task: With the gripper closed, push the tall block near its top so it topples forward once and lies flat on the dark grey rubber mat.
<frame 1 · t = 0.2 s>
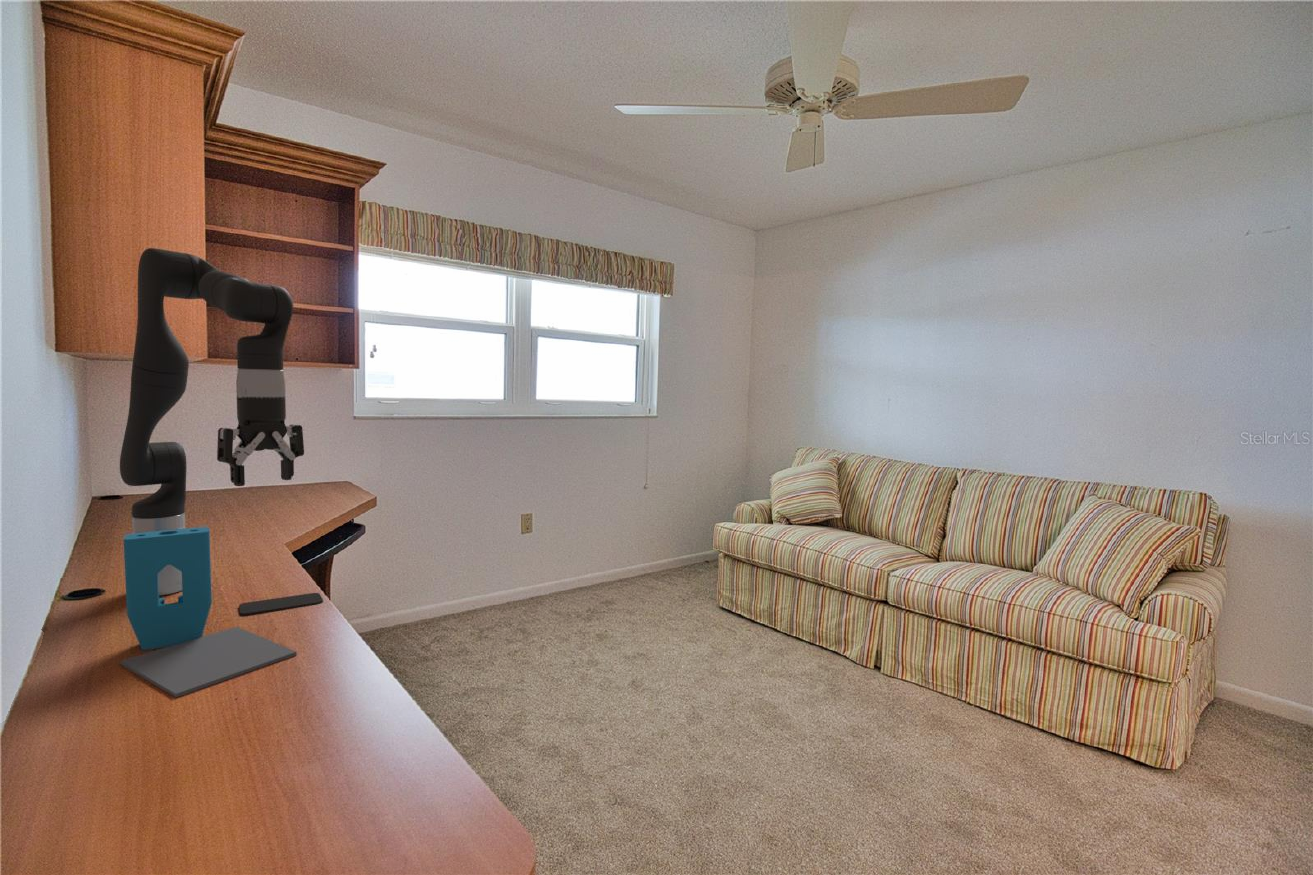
hand: (263, 482, 115), 29 cm above the table, tool pointing down, fingers open, 8 cm apart
block: (172, 641, 114), on the table
phone: (281, 607, 133), on the table
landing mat: (210, 659, 107), on the table
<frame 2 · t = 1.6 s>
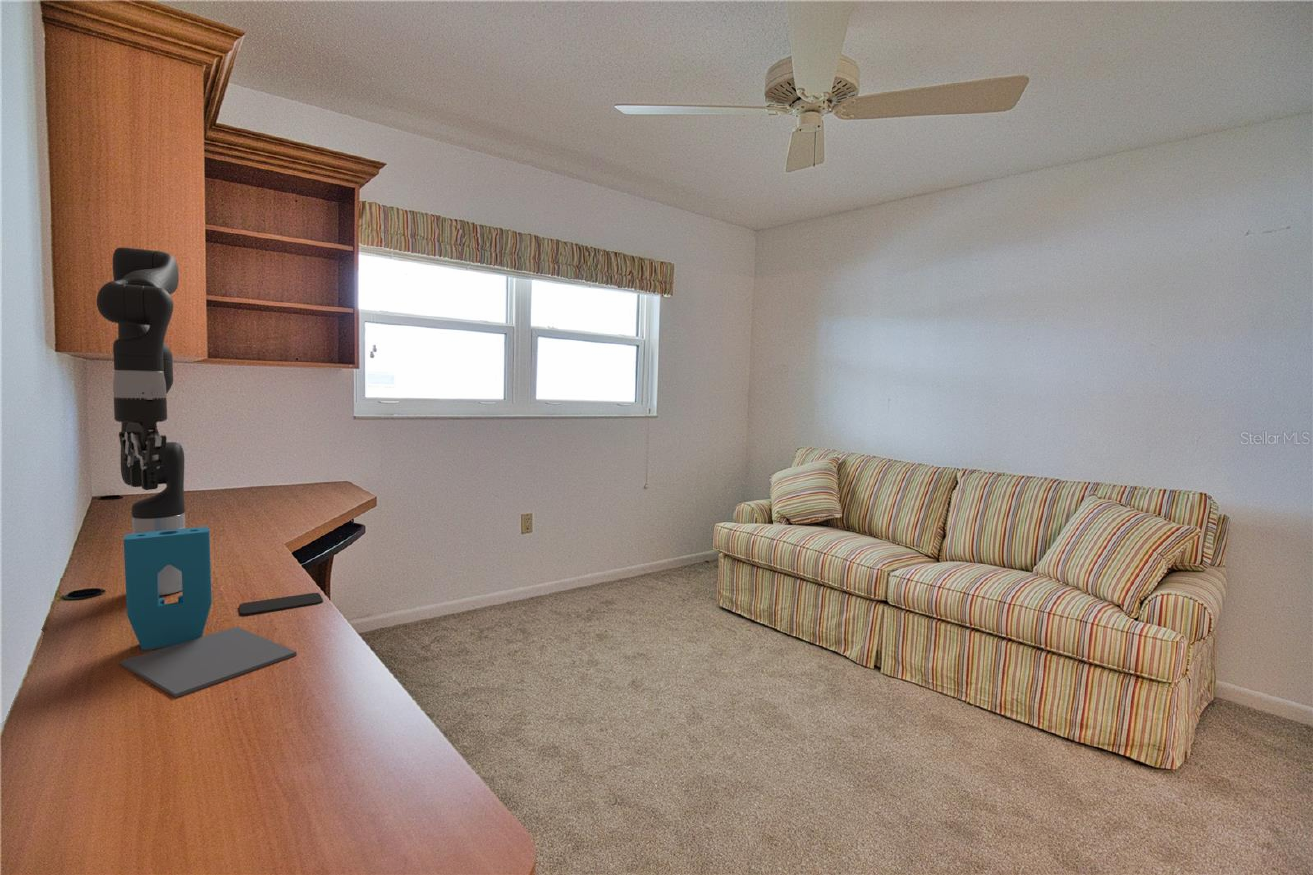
hand: (144, 487, 116), 27 cm above the table, tool pointing down, fingers open, 4 cm apart
nothing on the table moved.
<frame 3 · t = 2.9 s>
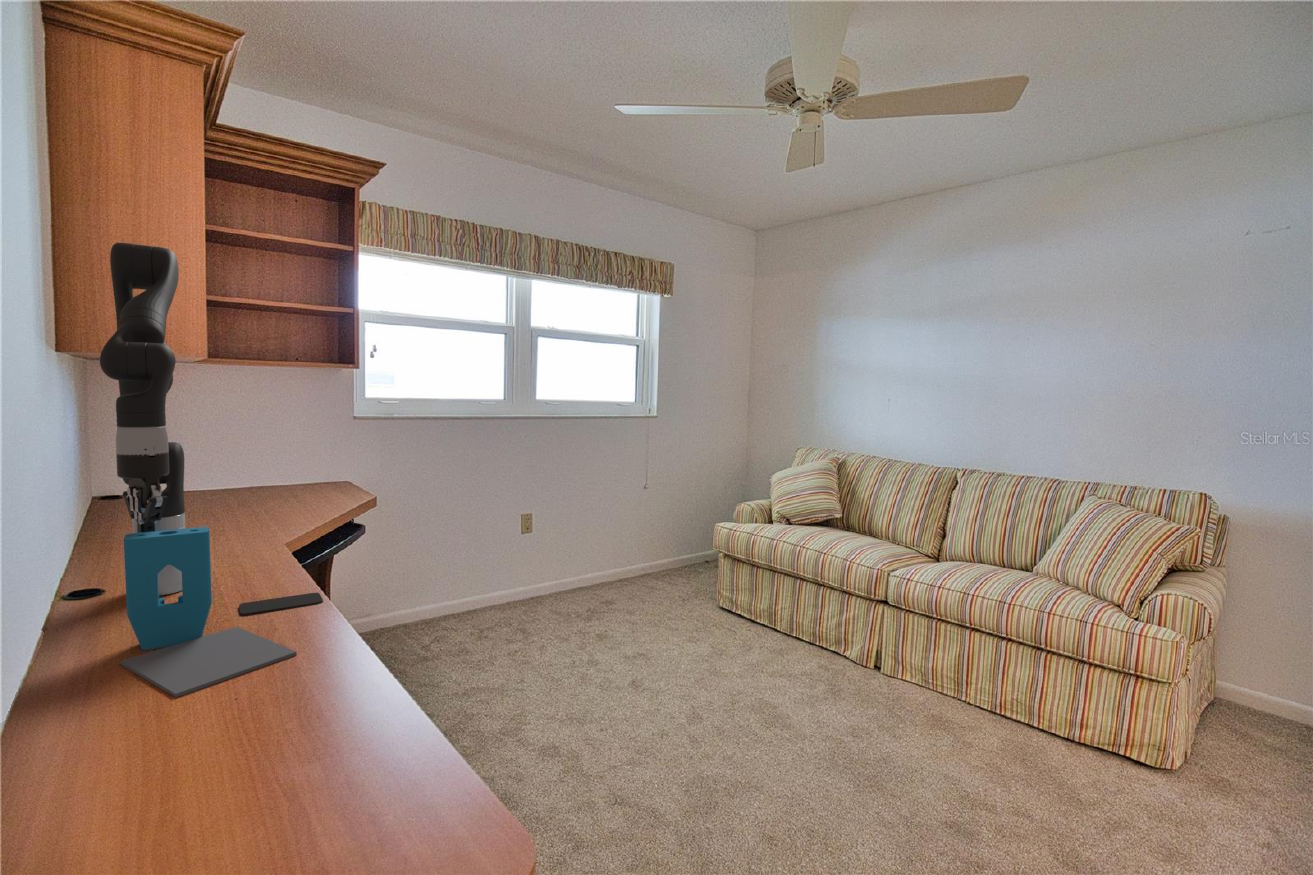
hand: (146, 542, 117), 17 cm above the table, tool pointing down, fingers closed
nothing on the table moved.
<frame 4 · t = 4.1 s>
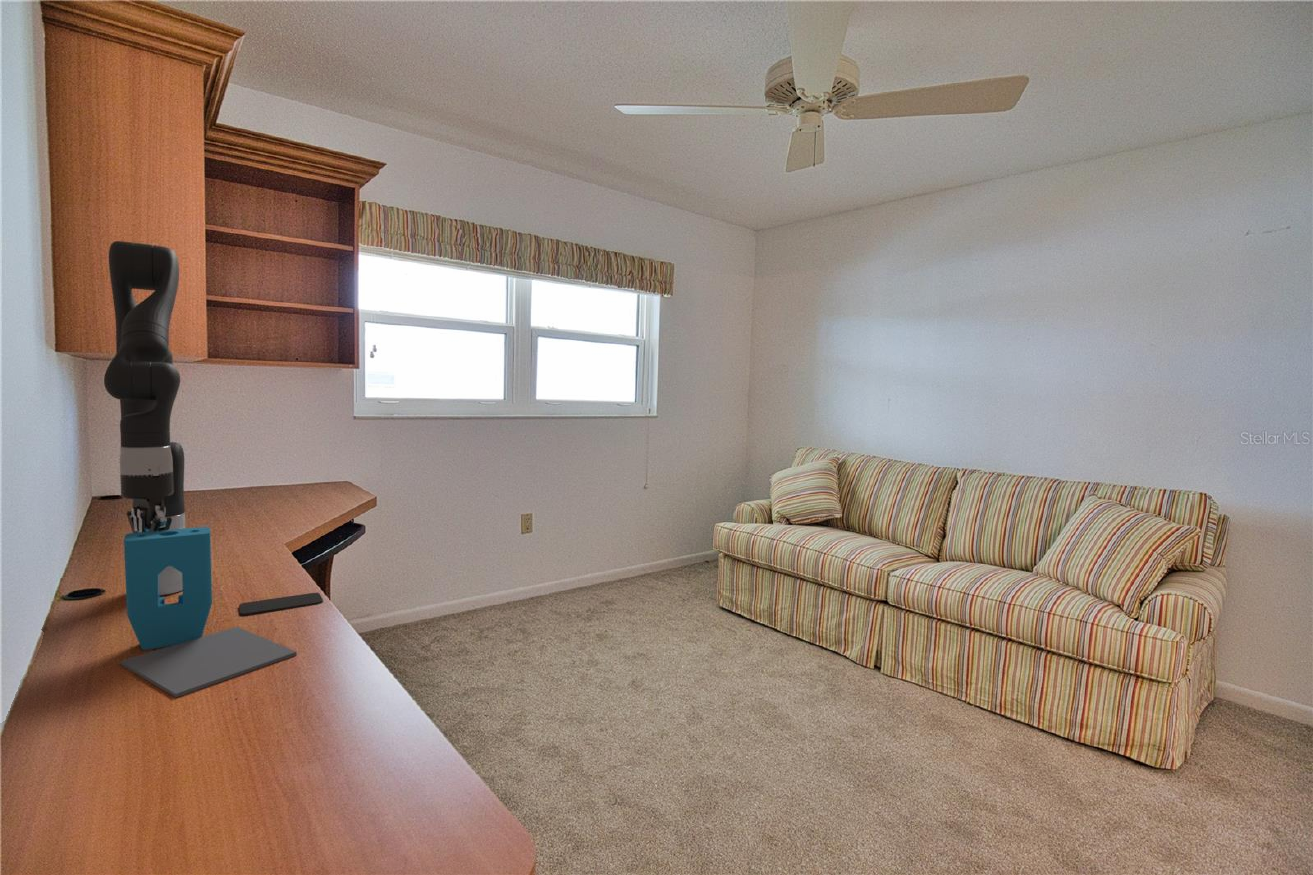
hand: (150, 563, 116), 13 cm above the table, tool pointing down, fingers closed
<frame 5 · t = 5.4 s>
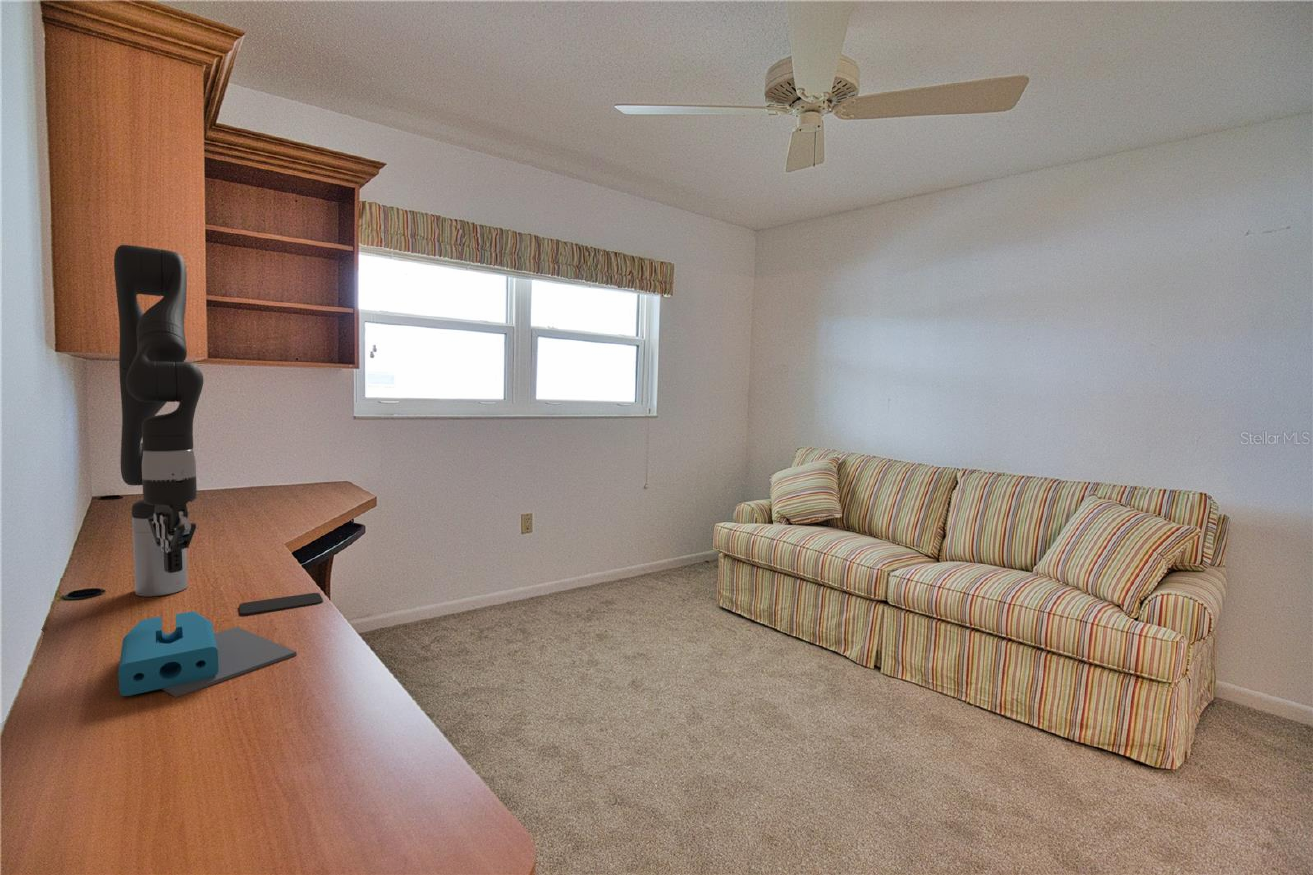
hand: (173, 571, 111), 13 cm above the table, tool pointing down, fingers closed
block: (169, 628, 111), point 3 cm above the table, touching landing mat
everything else where it was.
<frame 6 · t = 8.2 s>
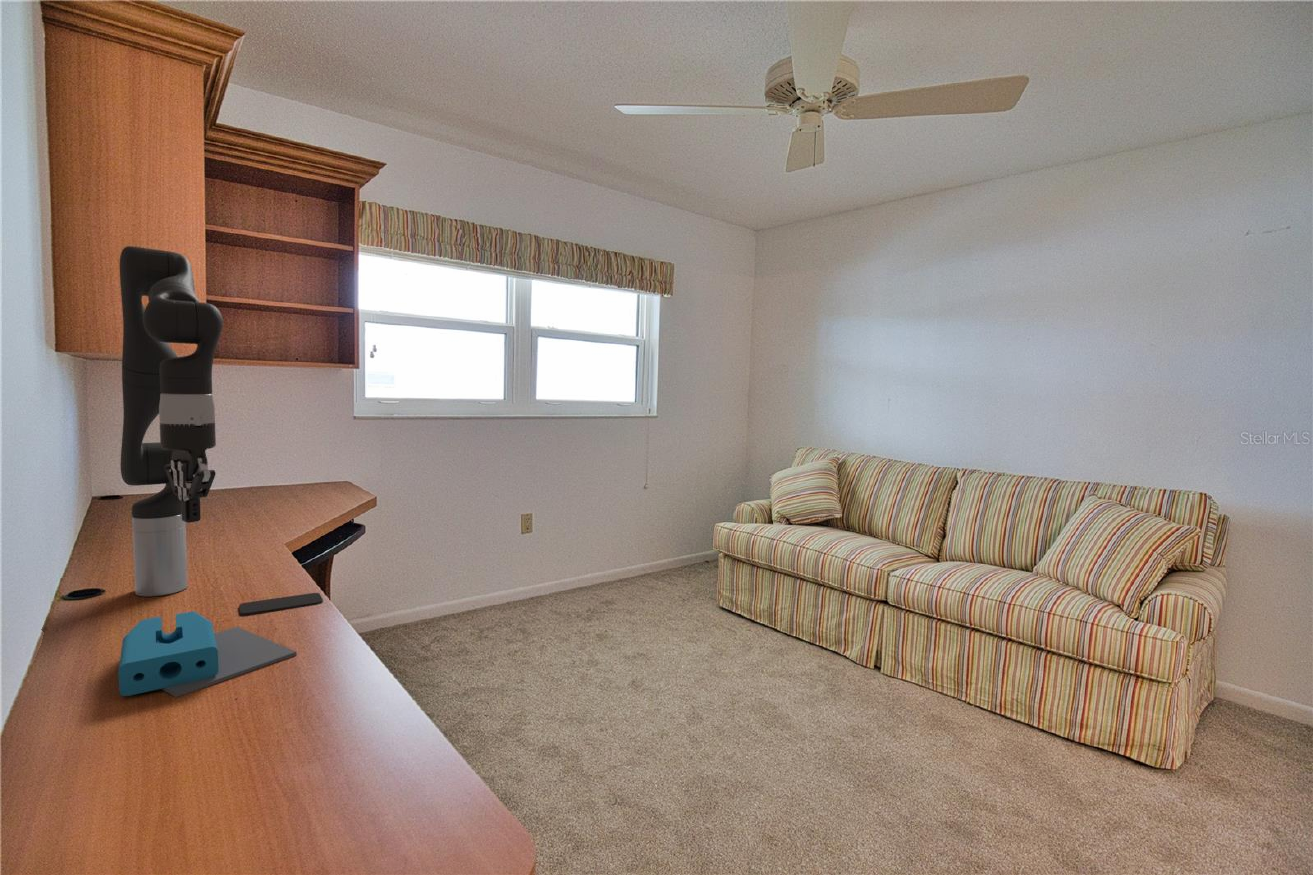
hand: (191, 521, 107), 23 cm above the table, tool pointing down, fingers closed
nothing on the table moved.
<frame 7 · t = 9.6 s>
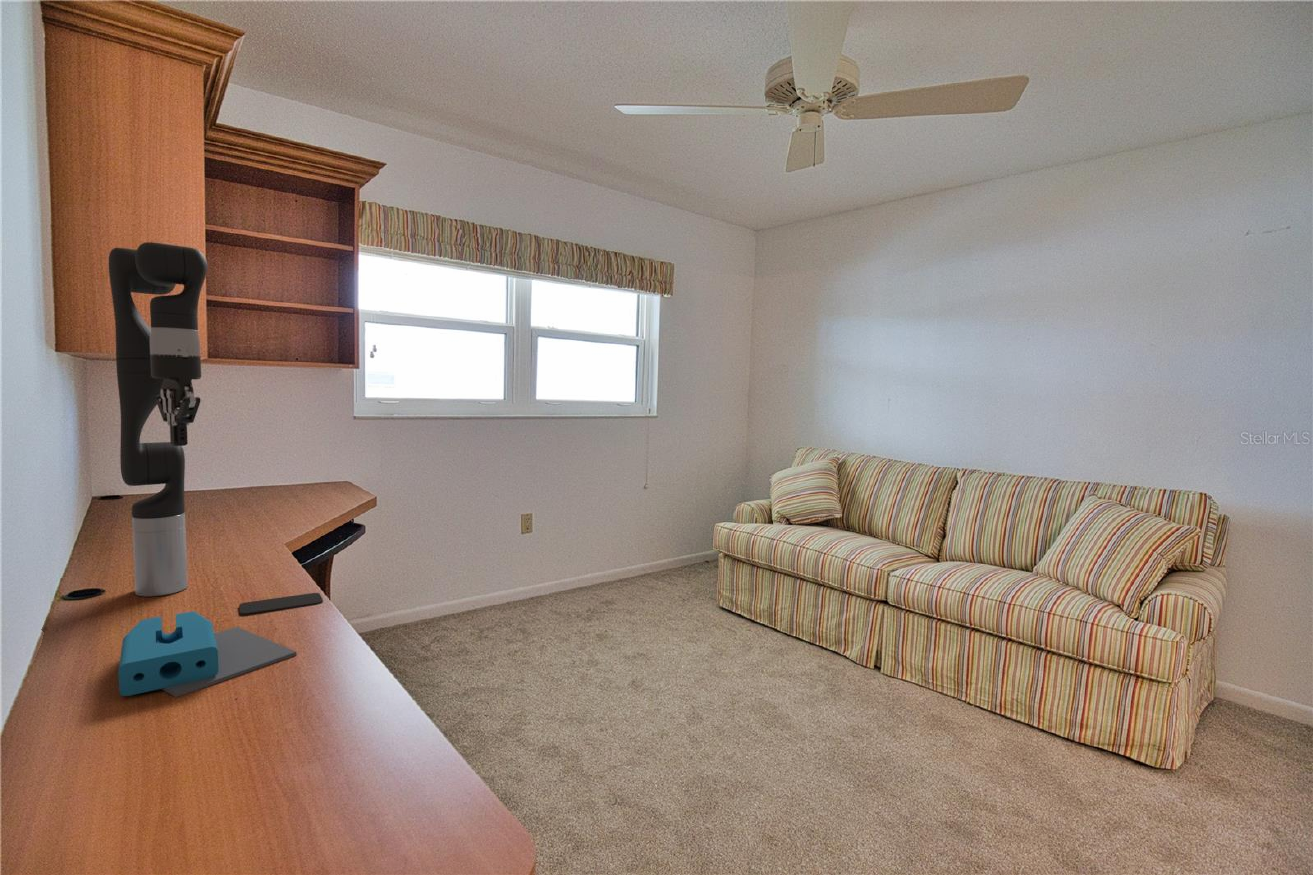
hand: (179, 445, 119), 35 cm above the table, tool pointing down, fingers closed
nothing on the table moved.
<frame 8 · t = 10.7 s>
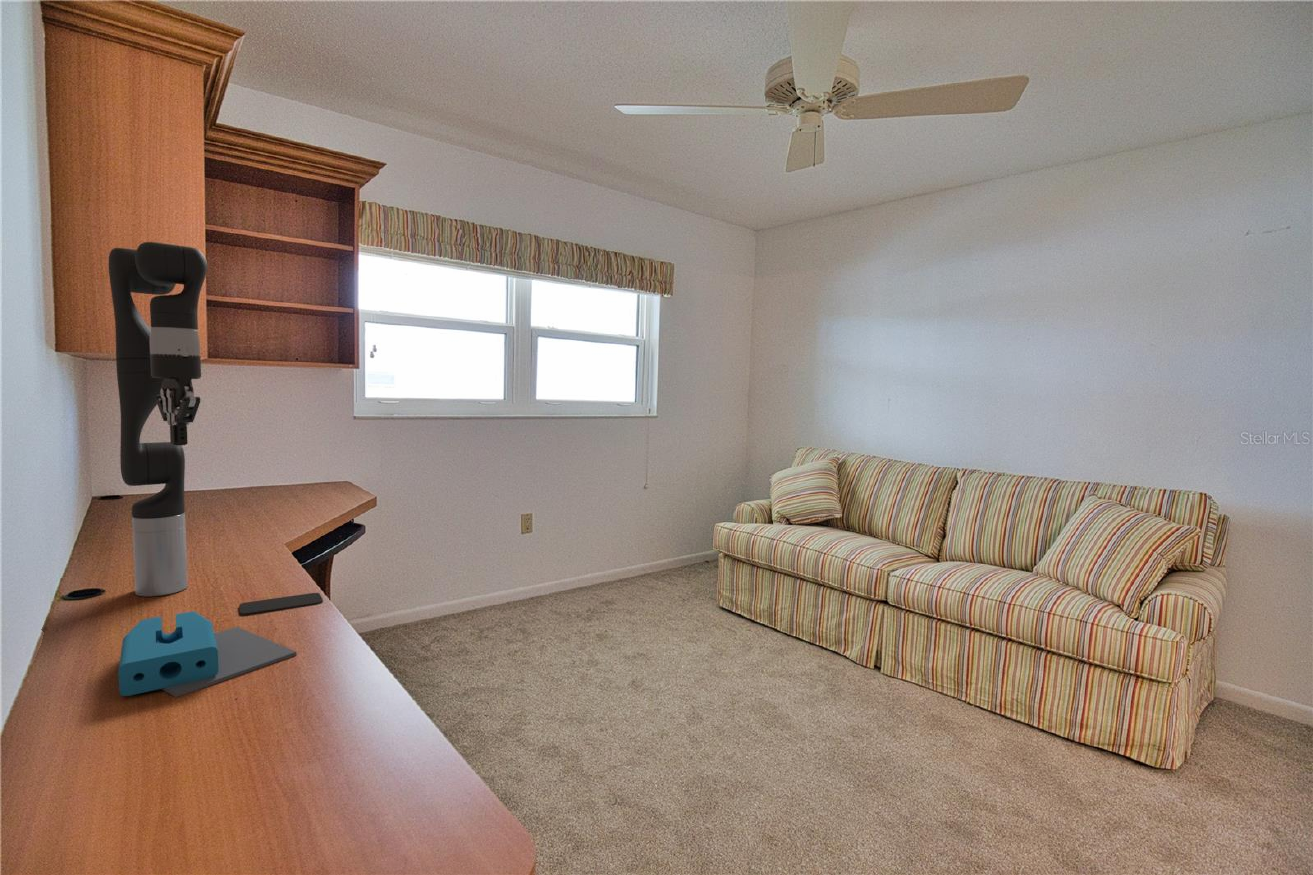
hand: (179, 444, 119), 35 cm above the table, tool pointing down, fingers closed
nothing on the table moved.
at the end: block tilted 90°; block touching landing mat; block inside the target area (6.1 cm from its centre), point 3.1 cm above the table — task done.
